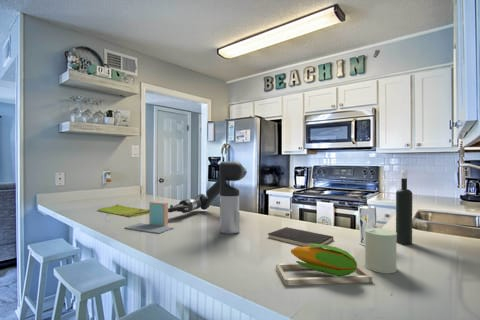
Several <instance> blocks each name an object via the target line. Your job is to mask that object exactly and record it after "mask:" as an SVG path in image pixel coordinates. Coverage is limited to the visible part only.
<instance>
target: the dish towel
mask: <svg viewBox="0 0 480 320" xmlns="http://www.w3.org/2000/svg"><path fill="white" fill-rule="evenodd" d="M96 211H97V212H101V213H106V214H111V215H116V216H121V217H129V218H133V217H134V218H135V217H140V216H144V215H149V208H148V209H143V208H138V207H131V206H125V205H120V204H115V205H112V206H106V207H102V208H98V209H97V210H96Z"/></svg>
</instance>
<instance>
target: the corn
mask: <svg viewBox="0 0 480 320" xmlns="http://www.w3.org/2000/svg"><path fill="white" fill-rule="evenodd" d="M308 244H309V245H314V246H319V247H305V246H297V247H294V248H292V249H290V253H291V254H292V255H293V256H294V257H295V258H297V259H298V260H296V262H295V263H298V264H300V265H302V266H304V267H306V268H309V269H308V270H310V269H311V270H312V271H313V270H314V271H315V272H318V273H323V274H328V275H331V276H334V277H337V276H351V274H353V273H356V271H355V270H356V268H357V266H358V263H357V261H356V259H355V258H354V256H352V255H351V253H349V252H348V251H346V250H345V249H342V248H339V247H336V246H331V245H327V244H325V245H322V244H312V243H308Z"/></svg>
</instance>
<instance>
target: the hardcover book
mask: <svg viewBox="0 0 480 320" xmlns="http://www.w3.org/2000/svg"><path fill="white" fill-rule="evenodd" d="M267 235H268V239H272V240H273V239H274V240H277V241H280V242H286V243H290V244H292V245H293V244H295V245H297V246H300V247H319V246H314V245H309V244H308V243H312V244H322V245H327V244H328V243H330V242H332V241H334V236H333V235H327V234H323V233H319V232H313V231H307V230H302V229H297V228H293V227H287V226H286V227H283V228H280V229H277V230H274V231H271V232H268V233H267ZM319 248H320V247H319Z"/></svg>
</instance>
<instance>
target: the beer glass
mask: <svg viewBox="0 0 480 320" xmlns="http://www.w3.org/2000/svg"><path fill="white" fill-rule="evenodd" d="M357 209H358V210H357V224H358V230H359V239H358V243H359V245H361V246H364V247H365V229H367V228H377V221H378V220H377V217H378V216H377V207H376V206H371V205H358V207H357Z"/></svg>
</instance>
